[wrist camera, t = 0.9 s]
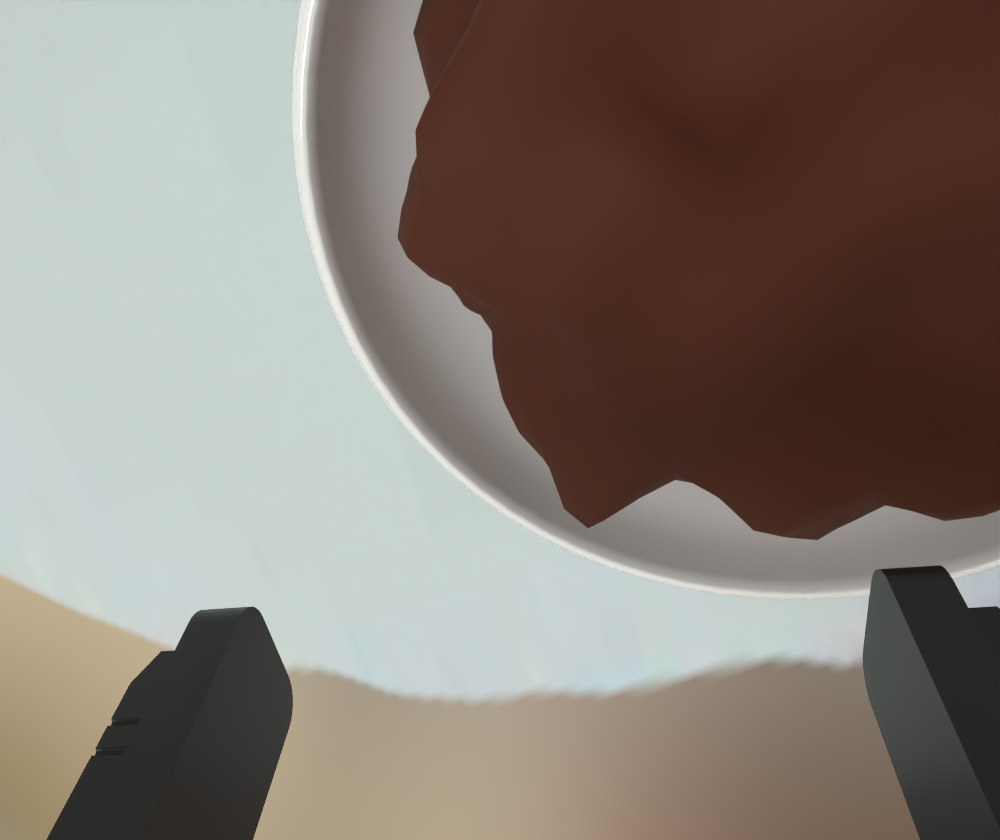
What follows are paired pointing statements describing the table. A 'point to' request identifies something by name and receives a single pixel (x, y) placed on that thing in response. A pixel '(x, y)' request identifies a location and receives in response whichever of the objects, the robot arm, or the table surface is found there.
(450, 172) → the bowl of brownies
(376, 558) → the table surface
